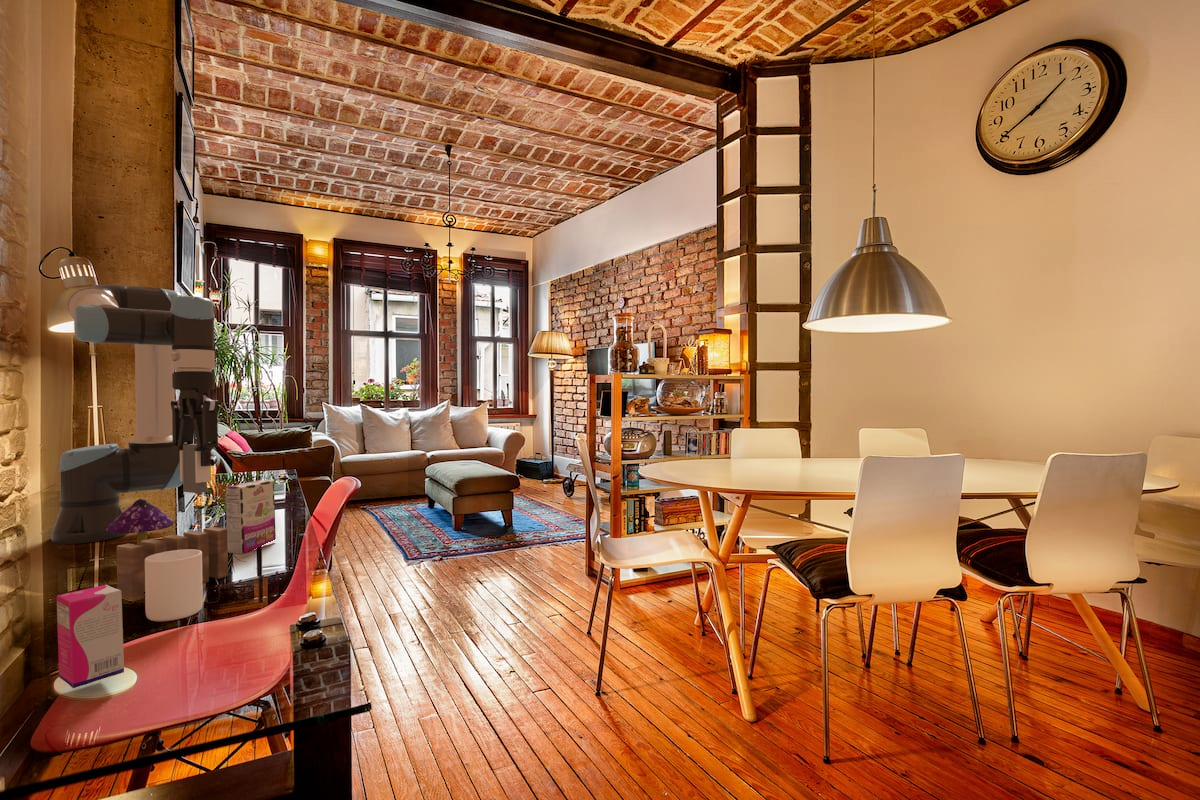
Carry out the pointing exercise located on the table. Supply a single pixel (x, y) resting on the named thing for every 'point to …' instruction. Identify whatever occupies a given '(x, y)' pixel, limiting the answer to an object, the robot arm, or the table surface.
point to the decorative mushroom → (140, 520)
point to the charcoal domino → (191, 471)
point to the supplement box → (90, 635)
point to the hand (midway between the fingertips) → (195, 481)
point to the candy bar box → (250, 515)
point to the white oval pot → (173, 584)
